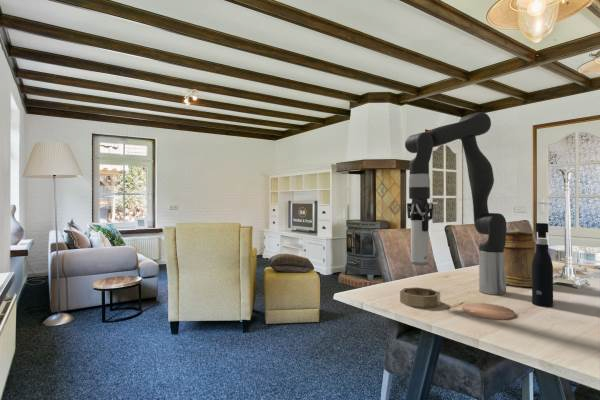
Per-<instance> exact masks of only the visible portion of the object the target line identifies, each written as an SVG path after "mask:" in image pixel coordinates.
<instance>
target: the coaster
mask: <svg viewBox="0 0 600 400" xmlns="http://www.w3.org/2000/svg"><path fill="white" fill-rule="evenodd" d="M461 308H462V310H461V311H463V312H464V313H466V314H468V315H469V316H470V315H471V316H474V317H478V318H482V319H488V320H489V319H490V320H499V321H500V320H510V319H513V318H515V317H516V312H515V311H514V310H513V309H511V308H509V307H505V306H501V305H499V304H492V303H486V302H485V303H484V302H483V303H482V302H470V303H469V302H468V303H465V304H462V306H461Z"/></svg>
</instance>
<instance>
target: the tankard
mask: <svg viewBox="0 0 600 400" xmlns="http://www.w3.org/2000/svg"><path fill="white" fill-rule="evenodd" d="M533 235H534V233H533V232H532V231H526V230H525V231H524V230H520V228H518V227H517V228H515V229H514V230H511V229H510V230H508V229H506V244H505V247H504V270H506V285H510V286H516V287H528V288H529V287H531V288H532V262H533V258H534V255H535V253H536V242H535V240H534V239H533V238H534V237H533Z"/></svg>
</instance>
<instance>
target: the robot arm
mask: <svg viewBox="0 0 600 400" xmlns="http://www.w3.org/2000/svg"><path fill="white" fill-rule="evenodd" d="M491 126H492V120H491V117H490V116H489V115H488V113H486V112H480V111H479V112H475V113H471V114H467V115H464V116H462V117H460V119H459V121H457V122H454V123H450V124H445V125H440V126H438V127H434V128H432V129H430V130H428V131H423V132H419V133H415V134H412V135H409V136H408V137H407V138H406V140H405V141H404V147H405V149H406V150H407V151H408V152H409V153H411V154H416V155H415V157H414V158H412V159H411V160H410V161H409V165H408V166H409V169H408V170H409V178H408V198H409V199H410V200H411V202H408V203H406V210H407V211H406V212H407V213H406V214H407V218H408V219H410V221H411V214H416V213H420V215H421V218H422V231H428V232H429V229H430V228H429V221H431V220H433V217H434V203H433V202H428V200H429V199H431V180H430V162H431V161H430V160H431V157H432V152H433V149H434V148H437V147H439V146H442V145H445V144H449V143H451V142H453V141H457V140H459V139H460V140H461V144H462V147H463V148H462V149H463V151H464V157H465V162H466V167H467V174H468V181H469V187H470V190H471V199H472V211H473V223H474V228H475V230H476V231H477V233H479V234H481V235H488V238H487V240H486V241H484V242H481V243H479V245H478V286H479V287H478V288H479V289H478V291H479V292H480V293H482V294H483V293H484V294H487V295H488V294H489V295H496V296H497V295H503V294H504V295H505V294H506V293H507V284H506V270H504V247H505V244H506V231H507V228H508V227H507V220H506V218H505V216H504V215H503V214H501V213H499V212H498V213H497V212H489V207H488V199H489V196H490V194H491V191H492V190H493V187H494V183H495V179H494V178H495V177H494V171H493V166H492V163H491V162H490V161H489V159H488V158H487V156H485V154H484V153H483V152H482V150H480V147H479V145H478V142H477V138H476V137H477V136H482V135H484V134H486V133H488V132H489V131H490V129H491ZM424 212H425V213H424ZM424 215H425V218H424Z"/></svg>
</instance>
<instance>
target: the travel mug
mask: <svg viewBox="0 0 600 400" xmlns="http://www.w3.org/2000/svg"><path fill="white" fill-rule="evenodd" d="M424 213H425V212H424ZM410 215H411V220H410V264H411V265H414V266H422V267H423V266H428V265H429V264H430V263H429V230H428V231H422V218H421V215H420V213H416V214H411V213H410ZM424 218H425V215H424Z"/></svg>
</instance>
